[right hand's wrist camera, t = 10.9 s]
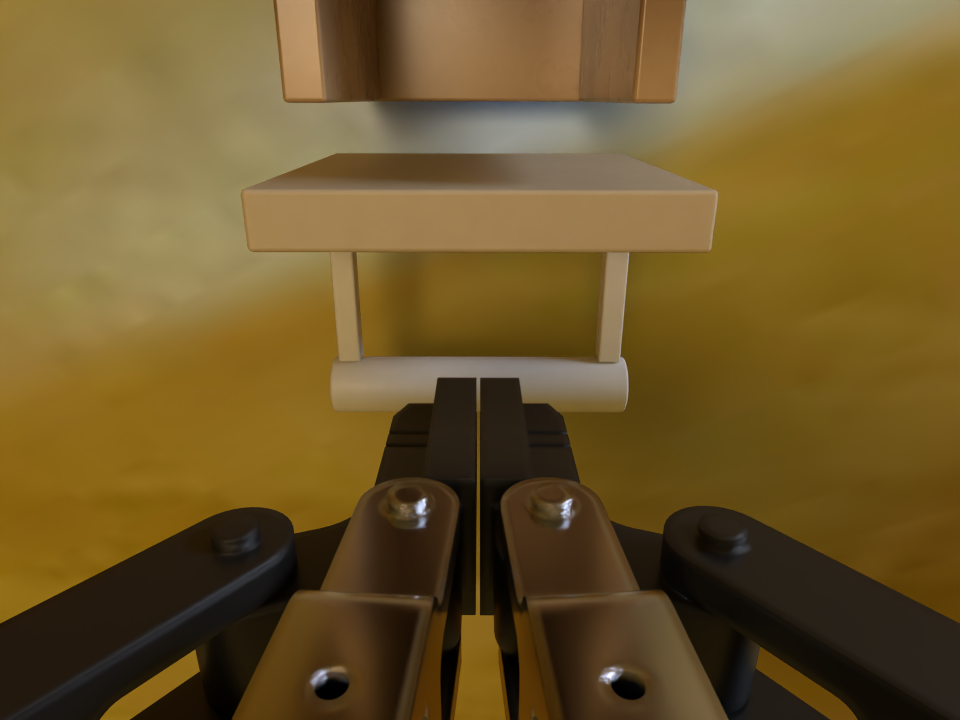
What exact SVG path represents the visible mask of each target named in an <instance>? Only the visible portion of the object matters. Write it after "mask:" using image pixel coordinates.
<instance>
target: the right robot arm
mask: <svg viewBox="0 0 960 720" xmlns="http://www.w3.org/2000/svg"><path fill="white" fill-rule="evenodd" d="M389 432H390V433H389V435H388V438H387V442H386V447H385V450H384V453H383V457H382V461H381V464H380V468H379V472H378V475H377V479H376V483H375V486H374V487H373V488H371V489H369V490H368V491H367V492H365V493H364V494H363V496H362V497H361V498H360V500H359V501H358V503H357V505H356V508H355V510H354V512H353V515H352V517H350V518H348V519H346V520H344V521H342V522H340V523H337V524H334V525H331V526H328V527H324V528H320V529H315V530H310V531H305V532H300V533H295V534H294V529H293V525H292V522H291V521H290V520H289V518H288V517H286V516H285V515H284V514H282V513H280V512H278V511H275V510H272V509H268V508H260V507H249V508H239V509H233V510H229V511H225V512H222V513H219V514H216V515H214V516H211V517H209V518H207V519H205V520H203V521H201V522H199V523H197V524H195V525H193V526H191V527H189V528H187V529H185V530H183V531H181V532H179V533H177V534H175V535H173V536H171V537H169V538H167V539H166V540H164V541H162V542H160V543H158V544H156V545H154V546H152V547H150V548H148V549H146V550H144V551H142V552H140V553H138V554H136V555H134V556H132V557H130V558H128V559H126V560H124V561H122V562H120V563H118V564H116V565H114V566H112V567H111V568H109V569H107V570H105V571H103V572H101V573H99V574H97V575H95V576H93V577H91V578H89V579H87V580H85V581H83V582H81V583H79V584H77V585H75V586H73V587H71V588H69V589H67V590H65V591H63V592H61V593H59V594H57V595H55V596H54V597H52V598H50V599H48V600H46V601H44V602H42V603H40V604H38V605H36V606H34V607H32V608H30V609H28V610H26V611H24V612H22V613H20V614H18V615H16V616H14V617H12V618H10V619H8V620H6V621H4V622H2V623H0V720H100V718H101V717H102V716H103V714H104V713H105V712H106V711H107V710H108V709H109V708H110V707H111V706H112V705H113V704H114V703H115V702H116V701H118V700H119V699H120V698H122V697H123V696H125V695H126V694H128V693H129V692H131V691H132V690H134V689H135V688H137V687H139V686H140V685H142V684H143V683H145V682H146V681H148V680H149V679H151V678H152V677H154V676H155V675H157V674H158V673H160V672H161V671H163V670H164V669H166V668H167V667H169V666H170V665H172V664H173V663H175V662H177V661H178V660H180V659H181V658H183V657H184V656H186V655H187V654H189V653H190V652H192V651H193V650H196V655H197V659H198V664H199V669H200V672H198V673H197V674H196V675H194V676H193V677H191V678H190V679H188V680H187V681H185V682H184V683H182V684H181V685H180V686H178V687H177V688H175V689H174V690H172V691H171V692H169V693H168V694H166V695H165V696H164V697H162V698H161V699H159V700H158V701H156V702H155V703H153V704H152V705H151V706H149V707H148V708H146V709H145V710H143V711H142V712H140V713H139V714H137V715H136V716H135V717H133V718H132V719H130V720H454V716H455V709H456V701H457V693H458V685H459V677H460V669H461V620H462V615H476V510H477V377H438V378H437V384H436V391H435V397H434V403H408V404H407V405H406V406H405V407H404V408H402V409H401V410H400V411H399V412H398V413H397V414H395V415H394V416H393V420H392V424H391V427H390V431H389ZM480 615H494V633H495V638H496V641H497V643H498V645H499V669H500V677H501V685H502V693H503V701H504V709H505V716H506V720H830V719H828V718H827V717H825V716H824V715H823V714H821V713H820V712H818V711H817V710H815V709H814V708H812V707H811V706H809V705H808V704H807V703H805V702H804V701H802V700H801V699H799V698H798V697H796V696H795V695H793V694H792V693H791V692H789V691H788V690H786V689H785V688H783V687H782V686H780V685H779V684H778V683H776V682H775V681H773V680H772V679H770V678H769V677H767V676H766V675H764V674H763V673H762V672H760V671H759V670H757V669H756V664H757V659H758V654H759V649H760V646H761V647H762V648H764V649H765V650H767V651H768V652H770V653H771V654H773V655H774V656H776V657H777V658H779V659H780V660H782V661H783V662H785V663H787V664H788V665H790V666H791V667H793V668H794V669H796V670H797V671H799V672H800V673H802V674H803V675H805V676H806V677H808V678H809V679H811V680H812V681H814V682H815V683H817V684H818V685H820V686H821V687H823V688H824V689H826V690H828V691H829V692H831V693H832V694H834V695H835V696H836V697H838V698H839V699H840V700H842V701H843V702H844V703H845V704H846V705H847V706H848V707H849V708H850V709H851V710H852V712H853V713H854V714H855V716H856V717H857V719H858V720H960V623H958V622H956V621H954V620H952V619H950V618H948V617H946V616H944V615H942V614H940V613H938V612H936V611H934V610H932V609H930V608H928V607H926V606H924V605H922V604H920V603H918V602H916V601H914V600H912V599H910V598H908V597H906V596H904V595H903V594H901V593H899V592H897V591H895V590H893V589H891V588H889V587H887V586H885V585H883V584H881V583H879V582H877V581H875V580H873V579H871V578H869V577H867V576H865V575H863V574H861V573H859V572H857V571H855V570H853V569H851V568H849V567H848V566H846V565H844V564H842V563H840V562H838V561H836V560H834V559H832V558H830V557H828V556H826V555H824V554H822V553H820V552H818V551H816V550H814V549H812V548H810V547H808V546H806V545H804V544H802V543H800V542H798V541H796V540H794V539H792V538H791V537H789V536H787V535H785V534H783V533H781V532H779V531H777V530H775V529H773V528H771V527H769V526H767V525H765V524H763V523H761V522H759V521H757V520H755V519H753V518H751V517H749V516H747V515H745V514H742V513H739V512H736V511H733V510H730V509H726V508H720V507H713V506H695V507H688V508H685V509H681V510H679V511H677V512H675V513H673V514H672V515H671V516H670V517H669V518H668V519H667V520H666V522H665V525H664V532H663V534H659V533H654V532H649V531H644V530H639V529H634V528H630V527H626V526H623V525H620V524H617V523H615V522H613V521H611V520H610V519H609V517H608V515H607V512H606V510H605V508H604V505H603V503H602V501H601V500H600V498H599V497H598V496H597V494H596V493H595V492H593V491H592V490H591V489H589V488H587V487H586V486H584V485H582V484H580V480H579V476H578V472H577V469H576V465H575V461H574V457H573V453H572V449H571V447H570V442H569V438H568V434H567V430H566V426H565V423H564V419H563V416H562V415H561V414H560V413H559V412H557V411H556V410H555V409H554V408H553V407H552V406H550V405H549V404H548V403H523V402H522V395H521V388H520V381H519V378H480Z"/></svg>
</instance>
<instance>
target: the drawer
mask: <svg viewBox="0 0 960 720" xmlns="http://www.w3.org/2000/svg"><path fill="white" fill-rule="evenodd" d="M685 7H686V0H274V10H275V20H276V30H277V40H278V50H279V59H280V69H281V79H282V89H283V98H284V100H285V101H286V102H288V103H329V102H363V101H583V102H613V103H672V102H674V101H675V99H676V93H677V83H678V74H679V64H680V55H681V45H682V35H683V26H684V16H685ZM241 199H242V207H243V215H244V222H245V230H246V238H247V245H248V249H249V250H250V251H252V252H330V260H331V272H332V284H333V296H334V308H335V320H336V331H337V343H338V355H339V356H338V357H336V358H335V359H334V361H333V364H332V368H331V375H330V395H331V402H332V406H333V409H334V410H335V411H337V412H399V411H400V410H401V409H402V408H404V407H405V406H406V405H407V404H408V403H434V397H435V391H436V384H437V378H438V377H477V412H480V378H519V381H520V388H521V395H522V402H523V403H548V404H549V405H550V406H552V407H553V408H554V409H555V410H556V411H557V412H623V411H624V410H625V407H626V404H627V399H628V371H627V366H626V363H625V360H624V358H622V357H620V353H621V341H622V330H623V318H624V307H625V296H626V284H627V273H628V261H629V253H706V252H709V251H710V249H711V246H712V238H713V231H714V223H715V216H716V208H717V201H718V192H717V191H716V190H713V189H711V188H708V187H706V186H703V185H701V184H698V183H696V182H693V181H690V180H688V179H685V178H683V177H680V176H678V175H675V174H672V173H670V172H667V171H665V170H662V169H660V168H657V167H655V166H652V165H649V164H647V163H644V162H642V161H639V160H637V159H634V158H632V157H629V156H626V155H624V154H412V153H336V154H334V155H331V156H329V157H326V158H324V159H321V160H318V161H316V162H313V163H311V164H308V165H305V166H303V167H300V168H298V169H295V170H293V171H290V172H287V173H285V174H282V175H280V176H277V177H274V178H272V179H269V180H267V181H264V182H262V183H259V184H256V185H254V186H251V187H249V188H246V189H244V190H242V192H241ZM356 252H603V254H602V268H601V282H600V296H599V310H598V324H597V338H596V351H595V354H596V357H367V356H362V355H363V344H362V330H361V315H360V301H359V286H358V272H357V257H356Z"/></svg>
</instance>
